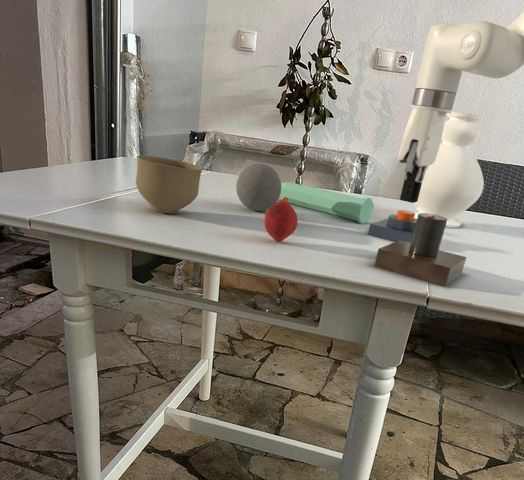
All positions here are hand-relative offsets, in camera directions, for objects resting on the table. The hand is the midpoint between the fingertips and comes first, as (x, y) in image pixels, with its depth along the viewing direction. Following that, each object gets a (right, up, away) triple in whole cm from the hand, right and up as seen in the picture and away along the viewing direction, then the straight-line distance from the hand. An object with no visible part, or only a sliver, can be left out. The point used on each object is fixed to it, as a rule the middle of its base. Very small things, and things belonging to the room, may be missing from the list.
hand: (408, 201), depth 104 cm
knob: (-3, -14, -19) cm, 24 cm away
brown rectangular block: (-3, -17, -18) cm, 25 cm away
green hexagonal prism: (-16, +3, +19) cm, 25 cm away
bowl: (-49, -3, -1) cm, 49 cm away
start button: (0, -4, +2) cm, 4 cm away
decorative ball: (-31, +1, +11) cm, 33 cm away
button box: (-1, -7, +3) cm, 8 cm away
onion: (-27, -11, -12) cm, 32 cm away
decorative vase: (+14, +2, +25) cm, 29 cm away
